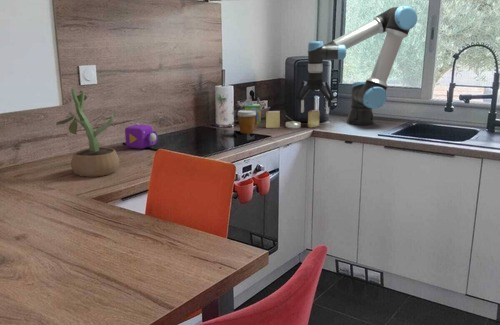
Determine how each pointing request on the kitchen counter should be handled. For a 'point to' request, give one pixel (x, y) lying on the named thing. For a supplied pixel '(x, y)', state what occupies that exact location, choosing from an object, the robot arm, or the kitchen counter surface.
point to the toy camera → (140, 136)
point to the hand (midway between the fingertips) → (314, 112)
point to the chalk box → (257, 109)
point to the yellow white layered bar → (313, 118)
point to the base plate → (293, 124)
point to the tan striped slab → (272, 119)
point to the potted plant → (91, 145)
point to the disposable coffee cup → (246, 121)
